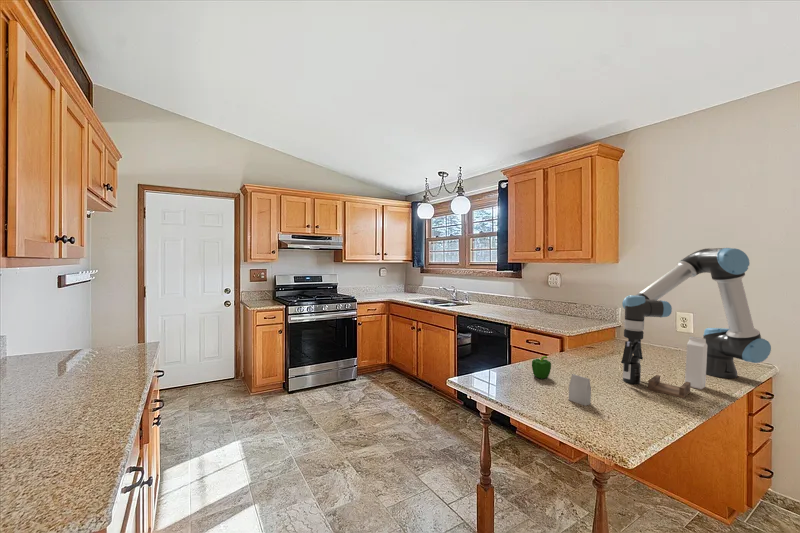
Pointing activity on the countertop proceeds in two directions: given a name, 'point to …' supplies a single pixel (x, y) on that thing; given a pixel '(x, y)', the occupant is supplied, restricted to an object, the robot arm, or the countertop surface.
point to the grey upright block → (580, 390)
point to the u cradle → (668, 387)
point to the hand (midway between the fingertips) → (631, 375)
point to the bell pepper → (541, 367)
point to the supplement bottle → (634, 371)
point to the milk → (696, 362)
